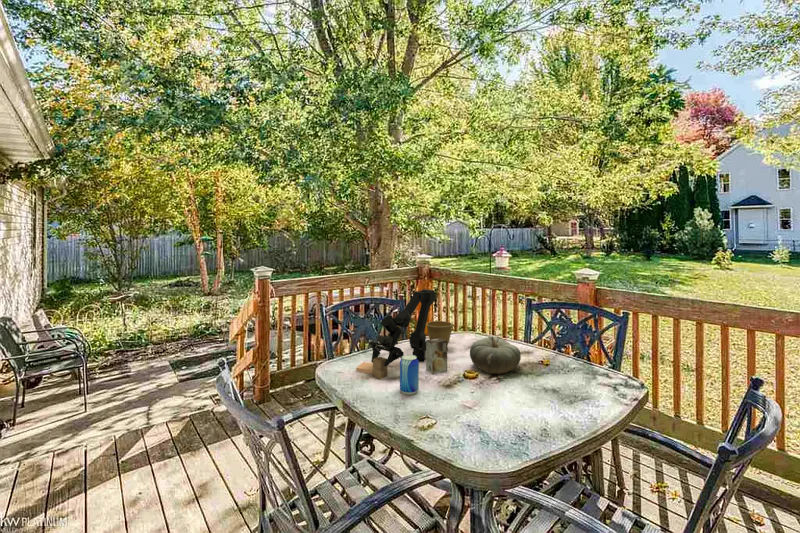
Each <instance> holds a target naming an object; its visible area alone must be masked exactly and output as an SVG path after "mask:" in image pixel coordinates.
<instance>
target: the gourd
mask: <svg viewBox="0 0 800 533" xmlns="http://www.w3.org/2000/svg"><path fill="white" fill-rule="evenodd" d="M469 350H470V351H469V357H470V359H471V362H472V363H473V365H475V366H476V367H477V368H479V369H481V370H482V371H484V372H486V373H490V374H496V375H499V374H505V373H507V372H511V371H514V370H515V369H516V368H517V367H518V366H519V364H520V362H521V357H522V356H521V351H520V349H519V348H518V347H517V346H516V345H514V344H510V342H508V341H506V340H505V339H504V338H503V339H502V338H499V337H497V336H494V335H489V336H488V337H484V338H481V339H478V340H476V341H475V342H474V343H472V345H471V346H470V349H469Z"/></svg>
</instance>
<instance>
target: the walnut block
mask: <svg viewBox="0 0 800 533" xmlns="http://www.w3.org/2000/svg"><path fill="white" fill-rule="evenodd" d="M386 360H387V358H386V357H382V356H378V357H377V358H375V359H373V374H372V377H373V378H375V379H378V380H382V379H385V378H387V377H388V365H387V366H386V367H385V366H384V364H385V362H386Z"/></svg>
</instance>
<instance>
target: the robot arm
mask: <svg viewBox="0 0 800 533" xmlns="http://www.w3.org/2000/svg"><path fill="white" fill-rule="evenodd" d="M412 294H413V295H412V296H411V298H410V299H409V301H408V302H407V303H406V305H405V307H404V309H403V310H401V311H399V312H398V313H397V314H396V315H395V316H394V317H393V316H392V315H390V314H388V315H387V316H386V317H384V318H383V319H381V321H380V324H381V326H382V327H383V329H384V330H385V331H386V332H387V333H388V334H385V335H379V334H377V337H376V340H375V341H374V340H372V341H370V343H369V345H368V346H370V348H371V349H372V356H371V360H370V361H371V362H370V363H373V359H375V358H377V357H380V355H381V351H384V352H388V356H387V358H386V359H387V360H386V362H385V364H384V366H385V367H386V366H387V367H388V366H389V365H390V364H391V363H393V362H394V361H396V360H399V358H400V359H402V356H404V354H405V353H404V351H403V350H402V349H401V348H400V347H398V346H396V345H398V344H399V342H398V340H400V337H401V335H403V336H404V335H405V331H404V329H405V328H408V327H409V325H410V324H411V322H412V315H413V314H414V312H415V310H416V309H417V307H418V306H419V305H420V304H421V305H420V309H419V312H418V317H417V322H416V325H415V326H416V327H415V330H414V331H412V332H410V336H409V339H408V340H409V345H410V349H412V350H413V351H412V354H411V355H415V356H416V357H417V360H418V361H419V363H420V362H421V363H425V362H426V340H427V337H426V334H425V333H426V332H425V330H426V327H427V323H428V316H429V313H430V307H431V306H432V305H433V304H434V302H435V299H436V297H437V293H436V292H435V290H434V289H433V290H432V289H426V288H423V289H422V290H417V291H414V292H413V293H412ZM403 328H404V329H403Z"/></svg>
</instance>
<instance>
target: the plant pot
mask: <svg viewBox="0 0 800 533" xmlns="http://www.w3.org/2000/svg"><path fill="white" fill-rule="evenodd" d="M426 327H427V333H428V340H430V339H436V338H442V339H445V340H447V347H448V345H449V342H450V338H451V335H452V330H453V323H452V322H450V321H443V320H433V321H429V322H428V321H427V322H426Z"/></svg>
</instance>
